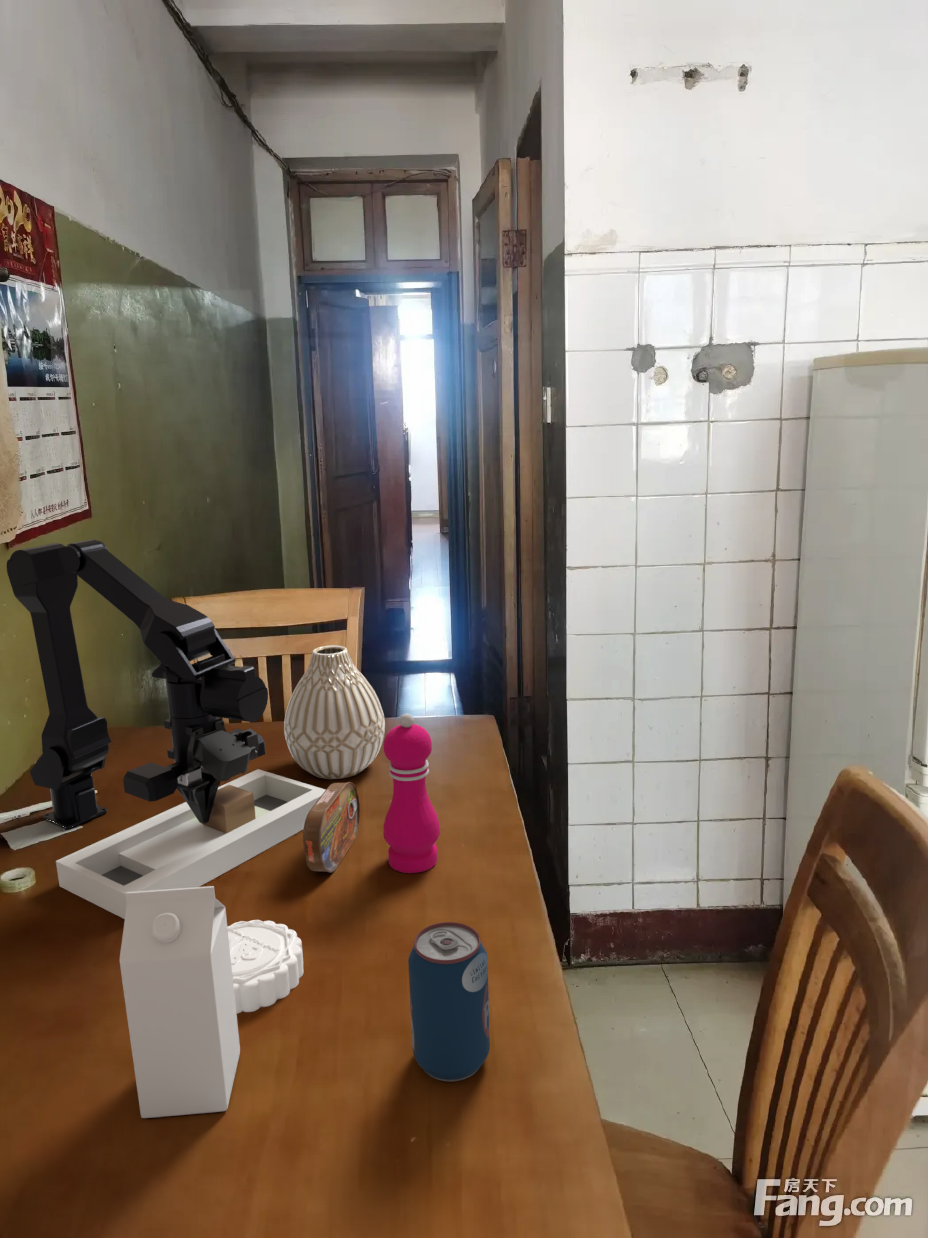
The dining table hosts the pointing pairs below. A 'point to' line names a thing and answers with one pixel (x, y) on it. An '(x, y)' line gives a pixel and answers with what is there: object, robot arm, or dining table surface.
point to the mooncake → (263, 962)
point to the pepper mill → (410, 800)
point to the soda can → (449, 1001)
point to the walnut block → (231, 809)
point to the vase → (333, 717)
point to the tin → (331, 827)
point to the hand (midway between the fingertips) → (204, 822)
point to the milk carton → (179, 1000)
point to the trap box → (185, 845)
